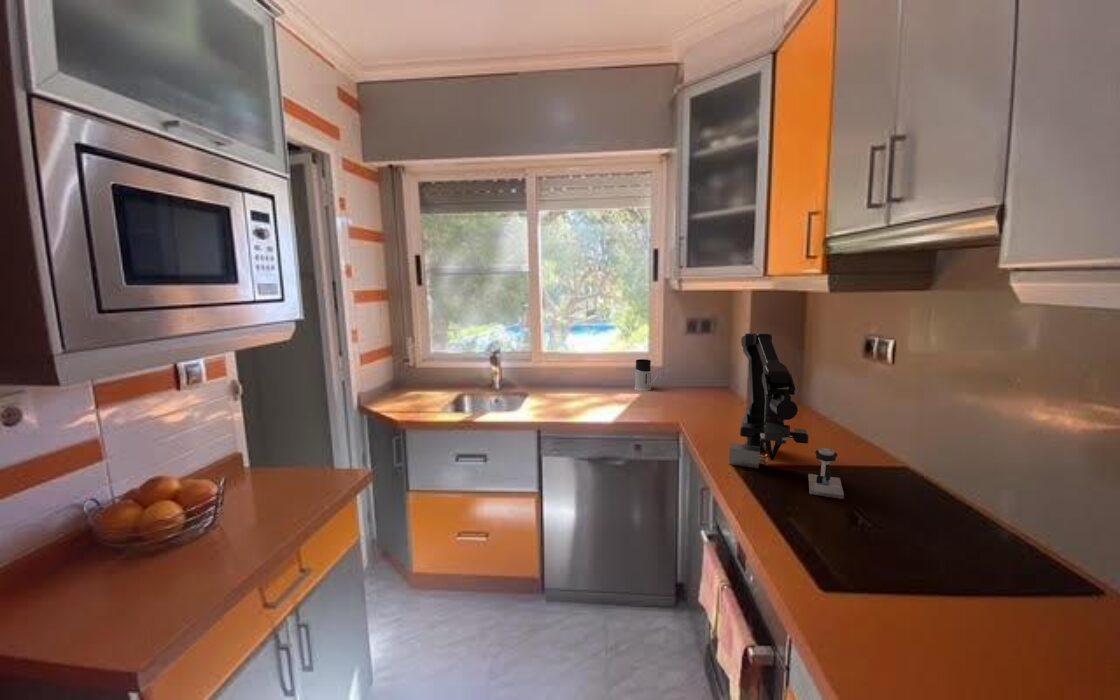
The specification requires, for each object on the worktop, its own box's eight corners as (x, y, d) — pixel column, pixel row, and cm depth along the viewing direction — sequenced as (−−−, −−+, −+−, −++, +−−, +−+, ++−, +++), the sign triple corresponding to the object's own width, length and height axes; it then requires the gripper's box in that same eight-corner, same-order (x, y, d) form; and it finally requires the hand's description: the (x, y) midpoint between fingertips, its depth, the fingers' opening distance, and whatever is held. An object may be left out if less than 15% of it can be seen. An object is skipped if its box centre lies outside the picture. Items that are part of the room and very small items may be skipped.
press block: (730, 458, 161) (731, 443, 160) (759, 462, 158) (760, 446, 157) (729, 464, 157) (729, 448, 156) (758, 468, 153) (759, 451, 153)
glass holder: (642, 386, 267) (642, 358, 265) (663, 390, 256) (663, 361, 254) (630, 388, 262) (631, 360, 260) (652, 393, 251) (652, 363, 249)
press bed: (808, 477, 146) (808, 467, 146) (839, 482, 143) (840, 471, 142) (809, 494, 135) (810, 483, 134) (843, 499, 131) (844, 488, 131)
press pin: (737, 459, 160) (738, 448, 159) (767, 463, 156) (768, 452, 155) (736, 462, 156) (737, 452, 156) (767, 467, 153) (768, 456, 152)
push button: (819, 477, 143) (821, 443, 141) (839, 483, 139) (842, 448, 138) (810, 484, 138) (812, 449, 137) (830, 490, 134) (833, 454, 133)
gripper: (739, 414, 148) (737, 464, 150) (810, 420, 140) (807, 474, 143) (742, 405, 158) (740, 452, 160) (808, 410, 151) (805, 460, 153)
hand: (772, 460), depth 154 cm, fingers closed
